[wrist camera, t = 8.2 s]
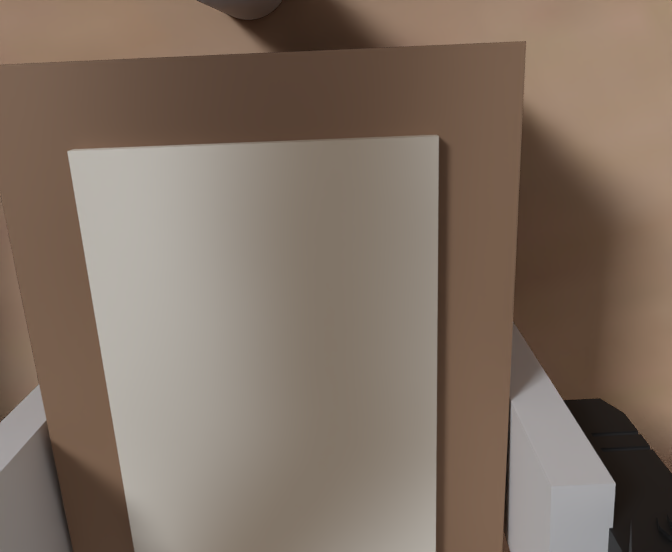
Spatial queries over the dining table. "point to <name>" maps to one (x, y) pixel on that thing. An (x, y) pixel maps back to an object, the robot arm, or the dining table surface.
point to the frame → (271, 293)
